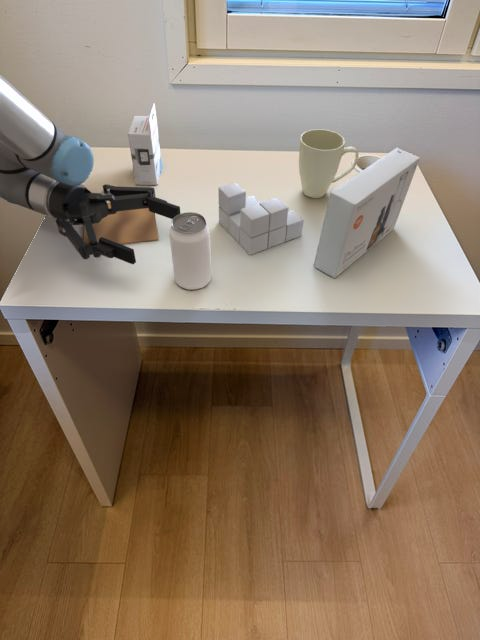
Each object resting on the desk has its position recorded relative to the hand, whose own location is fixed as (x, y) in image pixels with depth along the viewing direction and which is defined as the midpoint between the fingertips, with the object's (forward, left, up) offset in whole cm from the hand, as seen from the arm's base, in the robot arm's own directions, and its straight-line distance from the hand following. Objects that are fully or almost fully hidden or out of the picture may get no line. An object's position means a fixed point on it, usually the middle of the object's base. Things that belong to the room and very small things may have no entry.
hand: (157, 234), depth 80 cm
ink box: (0, +32, -7) cm, 32 cm away
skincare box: (+37, -1, -7) cm, 38 cm away
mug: (+36, +19, -7) cm, 41 cm away
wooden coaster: (-7, +15, -7) cm, 18 cm away
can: (+5, -4, -7) cm, 10 cm away
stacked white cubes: (+20, +8, -7) cm, 23 cm away
